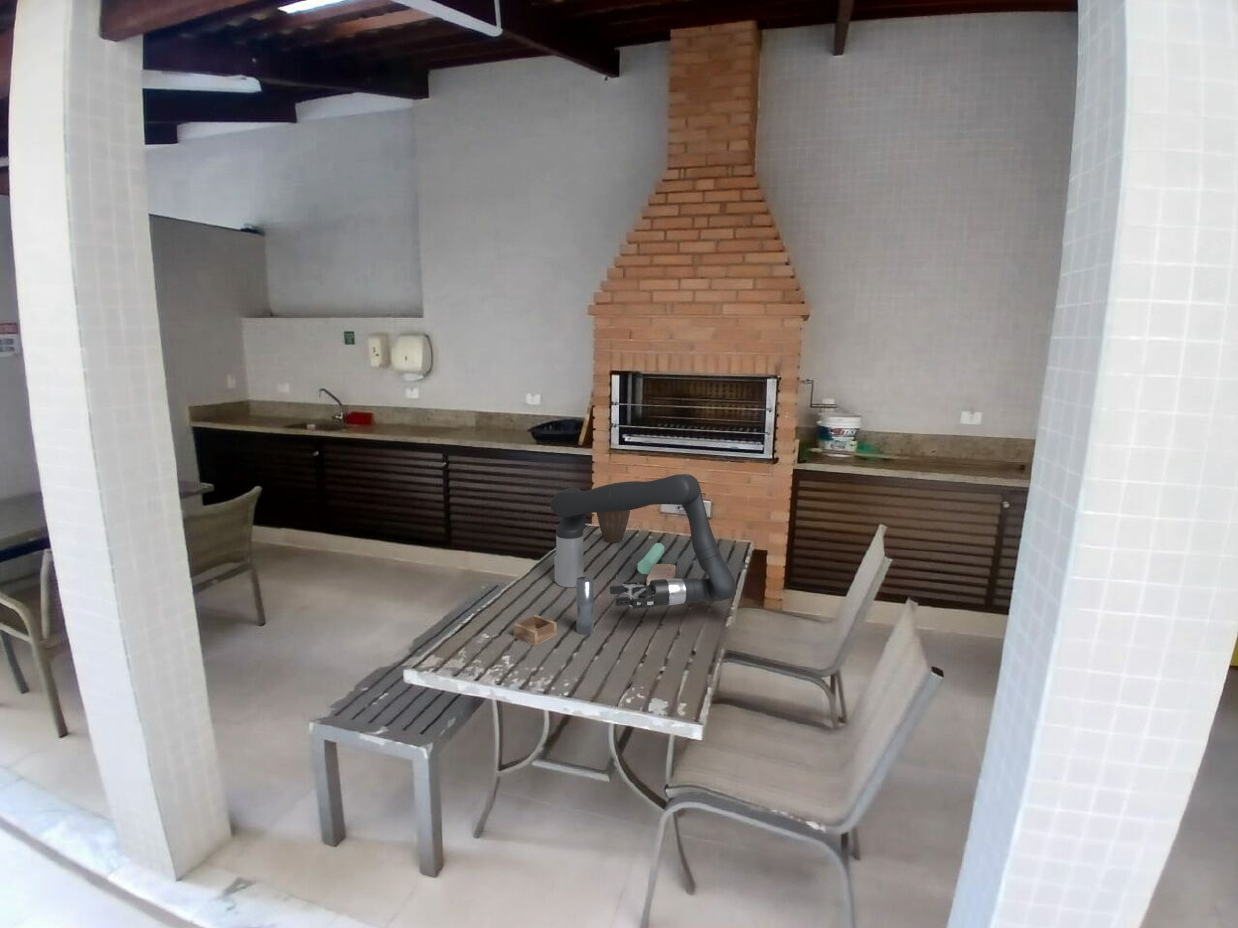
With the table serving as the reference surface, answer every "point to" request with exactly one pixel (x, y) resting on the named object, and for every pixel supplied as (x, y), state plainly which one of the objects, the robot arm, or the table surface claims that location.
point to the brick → (661, 572)
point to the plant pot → (613, 525)
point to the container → (650, 558)
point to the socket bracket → (535, 630)
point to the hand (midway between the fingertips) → (612, 596)
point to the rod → (584, 605)
